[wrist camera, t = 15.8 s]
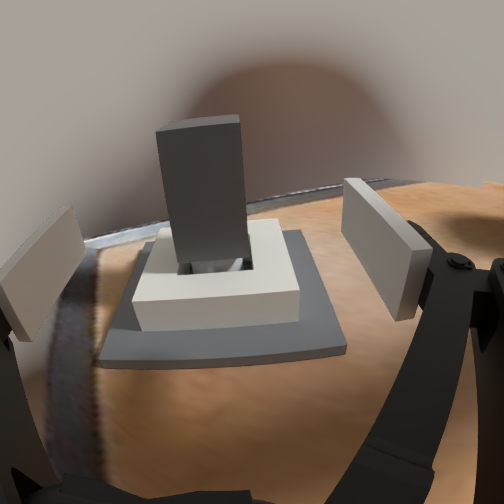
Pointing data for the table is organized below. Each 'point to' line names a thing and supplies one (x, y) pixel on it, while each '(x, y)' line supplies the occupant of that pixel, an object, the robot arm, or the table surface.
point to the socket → (224, 308)
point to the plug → (205, 192)
